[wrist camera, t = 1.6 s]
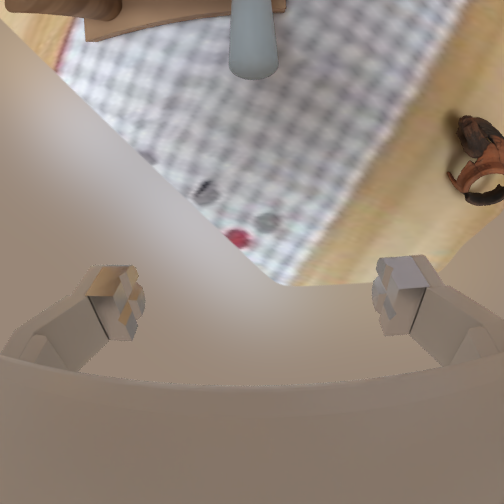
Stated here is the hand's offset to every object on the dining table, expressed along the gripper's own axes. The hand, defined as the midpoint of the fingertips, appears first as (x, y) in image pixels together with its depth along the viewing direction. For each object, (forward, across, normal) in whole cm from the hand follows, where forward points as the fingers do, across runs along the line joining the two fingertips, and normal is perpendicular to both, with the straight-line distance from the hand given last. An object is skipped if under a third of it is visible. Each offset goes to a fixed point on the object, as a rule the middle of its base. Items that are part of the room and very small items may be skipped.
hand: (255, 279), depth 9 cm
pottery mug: (+26, -26, +2) cm, 36 cm away
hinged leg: (+22, 0, -15) cm, 26 cm away
